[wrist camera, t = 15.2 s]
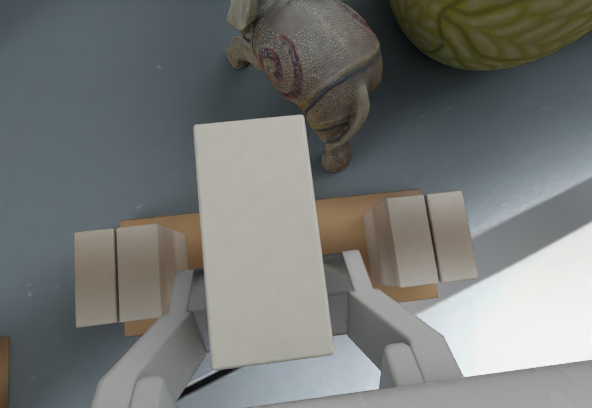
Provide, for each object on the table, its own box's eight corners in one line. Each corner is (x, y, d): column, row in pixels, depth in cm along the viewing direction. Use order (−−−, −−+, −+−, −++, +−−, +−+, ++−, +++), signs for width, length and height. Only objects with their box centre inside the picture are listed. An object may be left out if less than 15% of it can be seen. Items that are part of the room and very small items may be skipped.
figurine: (323, 36, 35) (350, -178, 21) (385, 166, 30) (474, -10, 16) (222, 58, 34) (183, -159, 20) (268, 198, 28) (257, 34, 15)
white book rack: (433, 296, 28) (487, 306, 21) (130, 334, 27) (72, 358, 19) (415, 191, 29) (460, 164, 22) (125, 222, 28) (70, 205, 21)
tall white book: (305, 307, 17) (335, 355, 7) (252, 313, 17) (210, 372, 7) (292, 199, 18) (304, 112, 8) (242, 204, 18) (191, 123, 8)
